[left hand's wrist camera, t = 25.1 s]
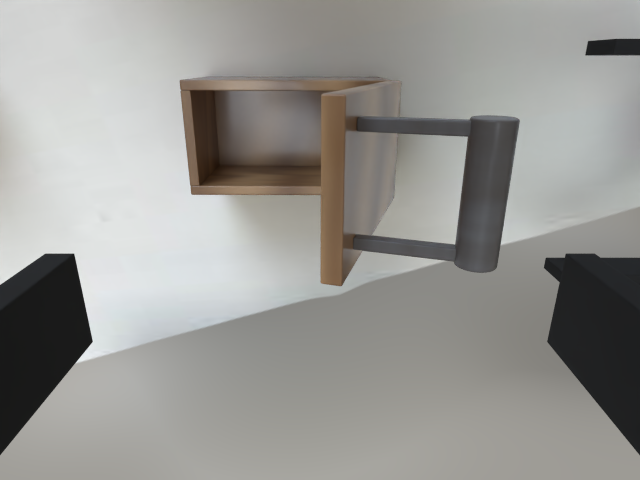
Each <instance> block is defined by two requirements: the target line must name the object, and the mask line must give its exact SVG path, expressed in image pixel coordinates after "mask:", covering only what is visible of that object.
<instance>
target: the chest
mask: <svg viewBox="0 0 640 480" xmlns="http://www.w3.org/2000/svg"><path fill="white" fill-rule="evenodd" d="M384 81H392V80H387V79H383V78H379V77H202V78H193V79H185V80H180V88H181V99H182V109H183V119H184V129H185V138H186V148H187V158H188V167H189V177H190V186H191V194H192V195H321V95H322V94H324V93H329V92H334V91H339V90H344V89H349V88H354V87H359V86H364V85H369V84H374V83H379V82H384Z"/></svg>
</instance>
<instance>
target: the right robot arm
mask: <svg viewBox="0 0 640 480" xmlns="http://www.w3.org/2000/svg"><path fill="white" fill-rule="evenodd" d="M586 55H640V39H610V40H597V41H588V45H587V50H586ZM601 259H603V260H604V261H606V262H607V263H609V264H610V265H612V266H613V267H614V268H616V269H617V270H619V271H620V272H622V273H623V274H625V275H626V276H627V277H629V278H630V279H632V280H633V281H635V282H636V283H638V284H639V285H640V258H601ZM564 260H565V258H546V260H545V265H544V268H545V269H546V270H547V271H548V272H549V273H550V274H551V275H552V276H553V277H555V278H556V279H557V280H558V281H559V282H560V279H561V274H562V270H563V265H564Z"/></svg>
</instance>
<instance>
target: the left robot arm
mask: <svg viewBox="0 0 640 480" xmlns="http://www.w3.org/2000/svg"><path fill="white" fill-rule="evenodd" d="M92 342H93V341H92V336H91V331H90V327H89V322H88V317H87V312H86V308H85V303H84V298H83V293H82V289H81V284H80V279H79V274H78V270H77V265H76V260H75V256H74V254H44V255H43V256H41V257H40V258H39V259H37V260H36V261H34V262H33V263H31V264H30V265H28V266H27V267H26V268H24V269H23V270H21V271H20V272H18V273H17V274H15V275H14V276H13V277H11V278H10V279H8V280H7V281H5V282H4V283H2V284H1V285H0V455H1V453H2V452H3V451H4V450H5V449H6V447H7V446H8V445H9V444H10V442H11V441H12V440H13V439H14V438H15V436H16V435H17V434H18V433H19V431H20V430H21V429H22V428H23V426H24V425H25V424H26V423H27V422H28V420H29V419H30V418H31V417H32V415H33V414H34V413H35V412H36V411H37V409H38V408H39V407H40V406H41V404H42V403H43V402H44V401H45V400H46V398H47V397H48V396H49V395H50V393H51V392H52V391H53V390H54V389H55V387H56V386H57V385H58V384H59V382H60V381H61V380H62V379H63V377H64V376H65V375H66V374H67V373H68V371H69V370H70V369H71V368H72V366H73V365H74V364H75V363H76V362H77V360H78V359H79V358H80V357H81V355H82V354H83V353H84V352H85V351H86V349H87V348H88V347H89V346H90V344H91V343H92ZM547 342H548V343H549V344H550V346H551V347H552V348H553V349H554V351H555V352H556V353H557V354H558V355H559V357H560V358H561V359H562V360H563V362H564V363H565V364H566V365H567V366H568V368H569V369H570V370H571V371H572V373H573V374H574V375H575V376H576V378H577V379H578V380H579V381H580V382H581V384H582V385H583V386H584V387H585V389H586V390H587V391H588V392H589V393H590V395H591V396H592V397H593V398H594V400H595V401H596V402H597V403H598V404H599V406H600V407H601V408H602V409H603V411H604V412H605V413H606V414H607V415H608V417H609V418H610V419H611V420H612V422H613V423H614V424H615V425H616V426H617V428H618V429H619V430H620V431H621V433H622V434H623V435H624V436H625V437H626V439H627V440H628V441H629V442H630V444H631V445H632V446H633V447H634V449H635V450H636V451H637V452H638V453H639V455H640V285H639V284H638V283H636V282H635V281H633V280H632V279H630V278H629V277H627V276H626V275H625V274H623V273H622V272H620V271H619V270H617V269H616V268H614V267H613V266H612V265H610V264H609V263H607V262H606V261H604V260H603V259H601V258H600V257H599V256H597V255H596V254H566V256H565V260H564V265H563V270H562V274H561V279H560V284H559V289H558V293H557V298H556V303H555V308H554V312H553V317H552V322H551V327H550V331H549V336H548V341H547Z"/></svg>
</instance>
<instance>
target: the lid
mask: <svg viewBox="0 0 640 480" xmlns="http://www.w3.org/2000/svg"><path fill="white" fill-rule="evenodd" d="M400 95H401V81H384V82H379V83H374V84H369V85H364V86H359V87H354V88H349V89H344V90H339V91H334V92H329V93H324V94H322V95H321V283H322V284H329V285H336V286H342V285H343V283H344V281H345V279H346V278H347V276H348V274H349V273H350V271H351V269H352V268H353V266H354V264H355V263H356V261H357V259H358V257H359V256H360V254H361V252H362V251H370V252H378V253H387V254H395V255H404V256H412V257H421V258H429V259H438V260H446V261H454V264H455V265H456V266H457V267H459V268H461V269H464V270H467V271H471V272H479V273H484V272H491V271H493V270H495V269H496V268H497V263H498V257H499V250H500V244H501V237H502V231H503V225H504V218H505V212H506V205H507V199H508V193H509V186H510V180H511V173H512V167H513V160H514V154H515V148H516V141H517V135H518V128H519V122H520V120H519V119H518V118H514V117H507V116H473V117H471V118H470V120H463V119H435V118H406V117H399V110H400ZM398 133H400V134H423V135H445V136H468V142H467V150H466V159H465V167H464V176H463V184H462V193H461V201H460V210H459V218H458V227H457V236H456V244H455V245H453V244H444V243H435V242H425V241H416V240H407V239H398V238H389V237H379V236H371V235H372V234H373V232H374V230H375V229H376V227H377V225H378V224H379V222H380V220H381V219H382V217H383V215H384V213H385V212H386V210H387V208H388V207H389V205H390V203H391V202H392V200H393V198H394V190H395V174H396V158H397V142H398Z"/></svg>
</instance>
